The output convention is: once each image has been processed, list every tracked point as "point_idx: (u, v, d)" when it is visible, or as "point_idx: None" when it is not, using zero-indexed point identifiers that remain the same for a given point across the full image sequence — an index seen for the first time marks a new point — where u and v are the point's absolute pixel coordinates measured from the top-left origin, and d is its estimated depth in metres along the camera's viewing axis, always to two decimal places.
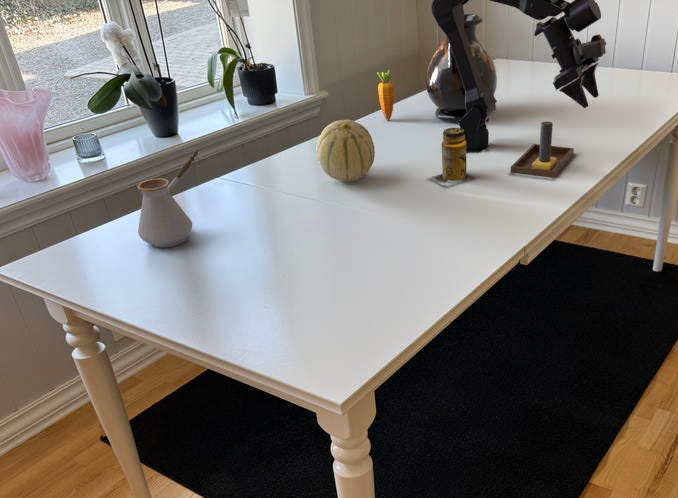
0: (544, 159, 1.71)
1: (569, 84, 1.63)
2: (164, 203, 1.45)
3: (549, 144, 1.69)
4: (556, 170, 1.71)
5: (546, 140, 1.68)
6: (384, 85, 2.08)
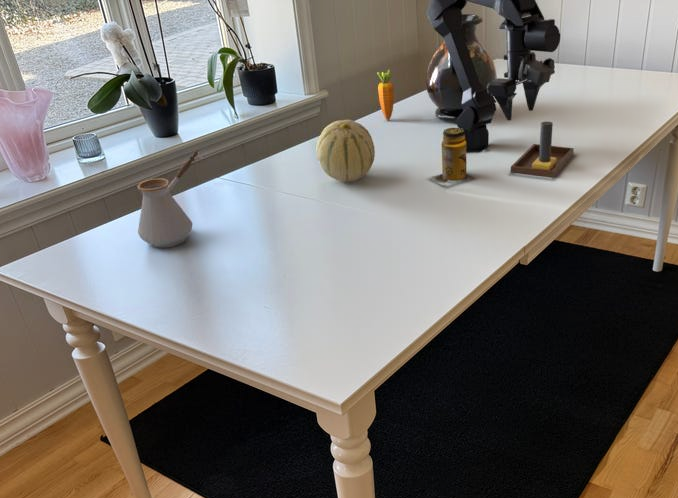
0: (544, 159, 1.71)
1: (499, 95, 1.67)
2: (164, 203, 1.45)
3: (549, 144, 1.69)
4: (556, 170, 1.71)
5: (546, 140, 1.68)
6: (384, 85, 2.08)
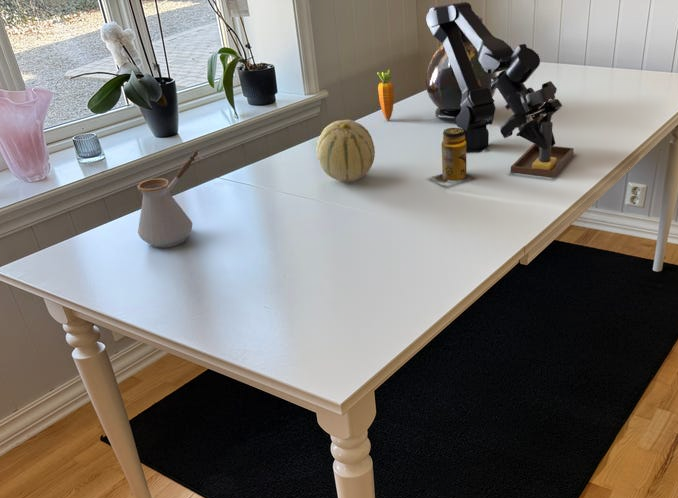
0: (544, 159, 1.71)
1: (522, 128, 1.66)
2: (164, 203, 1.45)
3: (549, 144, 1.69)
4: (556, 170, 1.71)
5: (546, 140, 1.68)
6: (384, 85, 2.08)
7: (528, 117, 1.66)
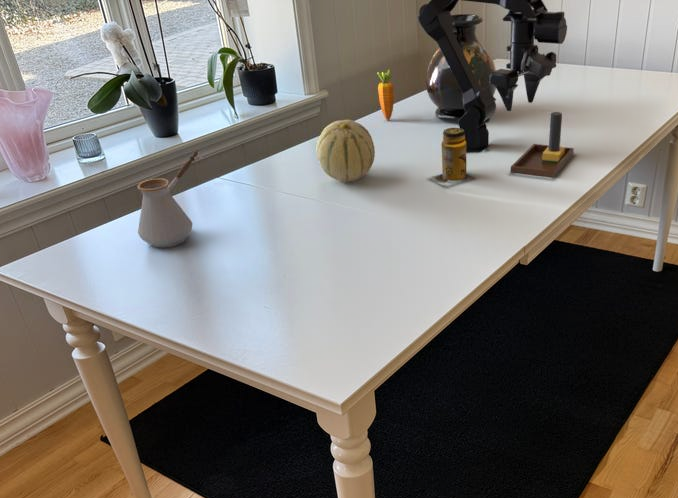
0: (554, 148, 1.77)
1: (501, 85, 1.70)
2: (164, 203, 1.45)
3: (559, 134, 1.75)
4: (556, 170, 1.71)
5: (555, 130, 1.74)
6: (384, 85, 2.08)
7: None
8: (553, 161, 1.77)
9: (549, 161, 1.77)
